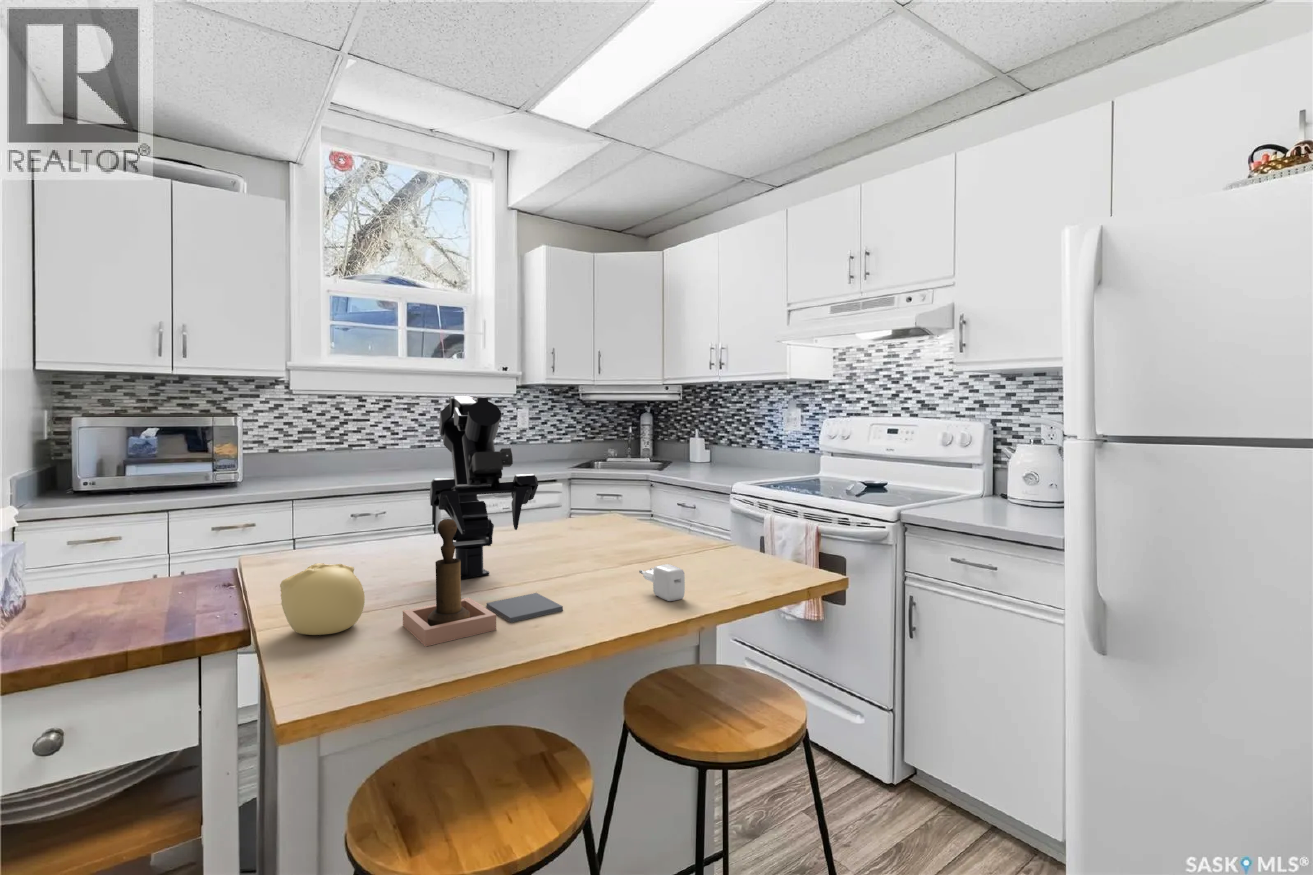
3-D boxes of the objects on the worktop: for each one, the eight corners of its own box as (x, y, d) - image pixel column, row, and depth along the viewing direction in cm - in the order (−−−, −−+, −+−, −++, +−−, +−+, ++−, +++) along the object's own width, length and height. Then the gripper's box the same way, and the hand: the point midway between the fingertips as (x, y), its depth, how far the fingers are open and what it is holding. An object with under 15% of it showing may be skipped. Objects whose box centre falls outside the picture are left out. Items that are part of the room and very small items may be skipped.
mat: (486, 607, 114) (486, 603, 114) (536, 596, 120) (536, 592, 120) (510, 622, 106) (510, 618, 106) (562, 610, 112) (562, 606, 112)
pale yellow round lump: (344, 612, 111) (342, 552, 111) (377, 628, 104) (376, 563, 103) (272, 630, 102) (270, 565, 102) (303, 649, 95) (301, 578, 94)
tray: (402, 625, 105) (402, 610, 105) (469, 611, 112) (469, 597, 112) (425, 646, 96) (425, 630, 96) (496, 629, 103) (496, 614, 103)
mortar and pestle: (469, 619, 108) (468, 514, 107) (470, 632, 102) (469, 521, 101) (428, 623, 106) (426, 517, 105) (426, 637, 100) (424, 524, 99)
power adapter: (635, 588, 126) (635, 559, 125) (655, 584, 128) (655, 556, 128) (666, 603, 116) (666, 572, 116) (688, 599, 119) (688, 568, 119)
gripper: (430, 433, 110) (437, 512, 102) (536, 431, 117) (551, 505, 109) (427, 468, 118) (433, 543, 110) (526, 464, 126) (539, 534, 118)
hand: (490, 531), depth 112 cm, fingers open, 9 cm apart
